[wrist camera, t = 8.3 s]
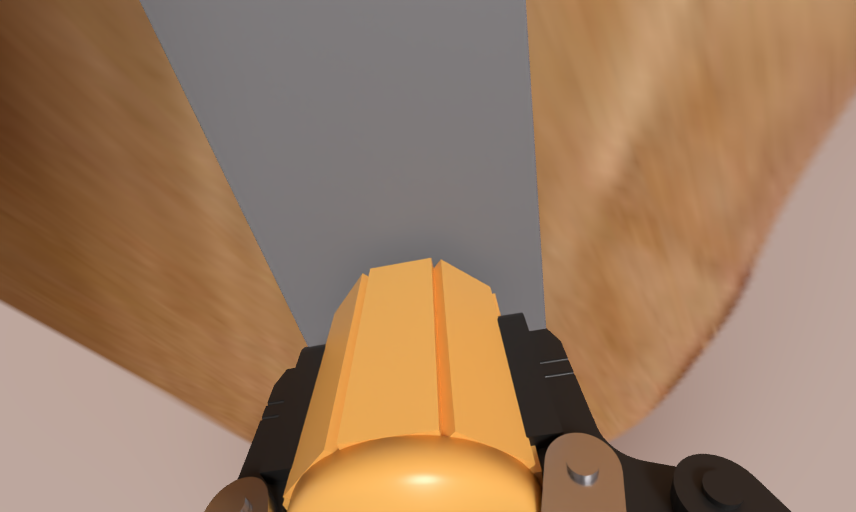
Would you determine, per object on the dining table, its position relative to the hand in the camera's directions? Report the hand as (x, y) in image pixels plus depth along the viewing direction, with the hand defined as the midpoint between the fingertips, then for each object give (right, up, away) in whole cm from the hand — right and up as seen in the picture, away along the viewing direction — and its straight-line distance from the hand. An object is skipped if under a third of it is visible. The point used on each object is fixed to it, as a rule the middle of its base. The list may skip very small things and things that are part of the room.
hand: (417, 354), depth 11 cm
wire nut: (0, +1, +1) cm, 1 cm away
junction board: (-1, +5, +1) cm, 5 cm away
